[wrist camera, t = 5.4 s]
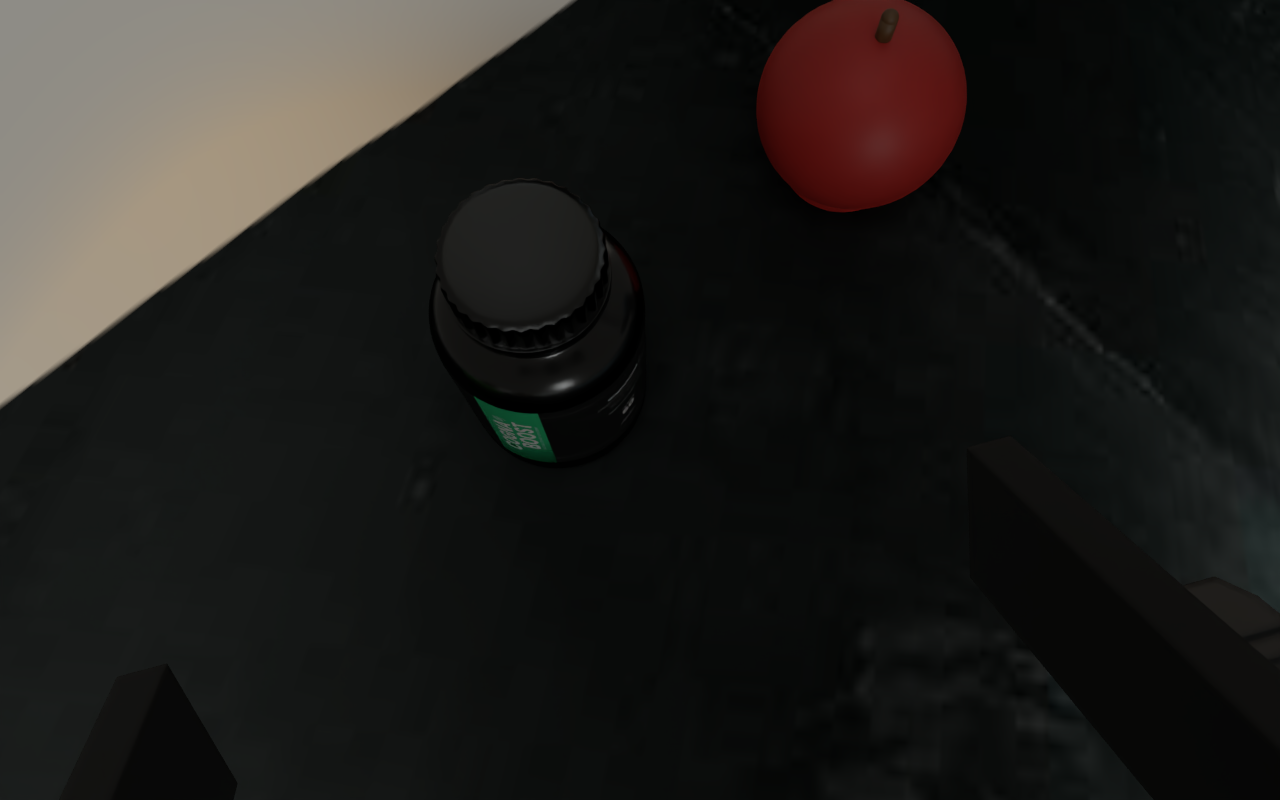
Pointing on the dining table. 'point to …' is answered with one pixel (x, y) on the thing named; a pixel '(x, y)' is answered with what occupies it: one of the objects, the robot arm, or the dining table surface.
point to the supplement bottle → (540, 322)
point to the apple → (861, 103)
